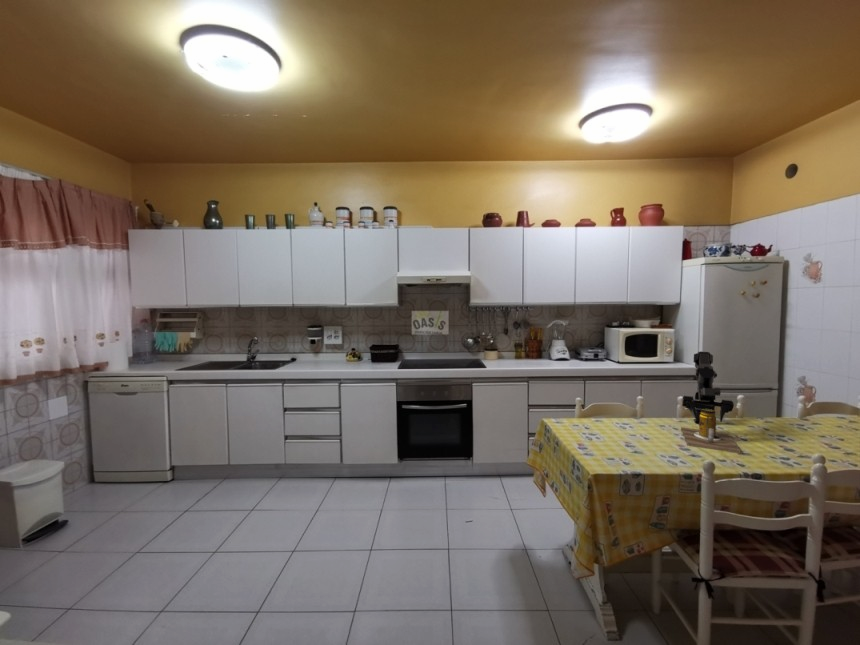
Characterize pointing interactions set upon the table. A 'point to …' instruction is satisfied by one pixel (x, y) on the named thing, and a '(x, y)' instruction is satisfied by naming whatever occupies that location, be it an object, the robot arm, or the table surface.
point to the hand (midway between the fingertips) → (708, 419)
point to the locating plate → (715, 445)
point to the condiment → (707, 423)
